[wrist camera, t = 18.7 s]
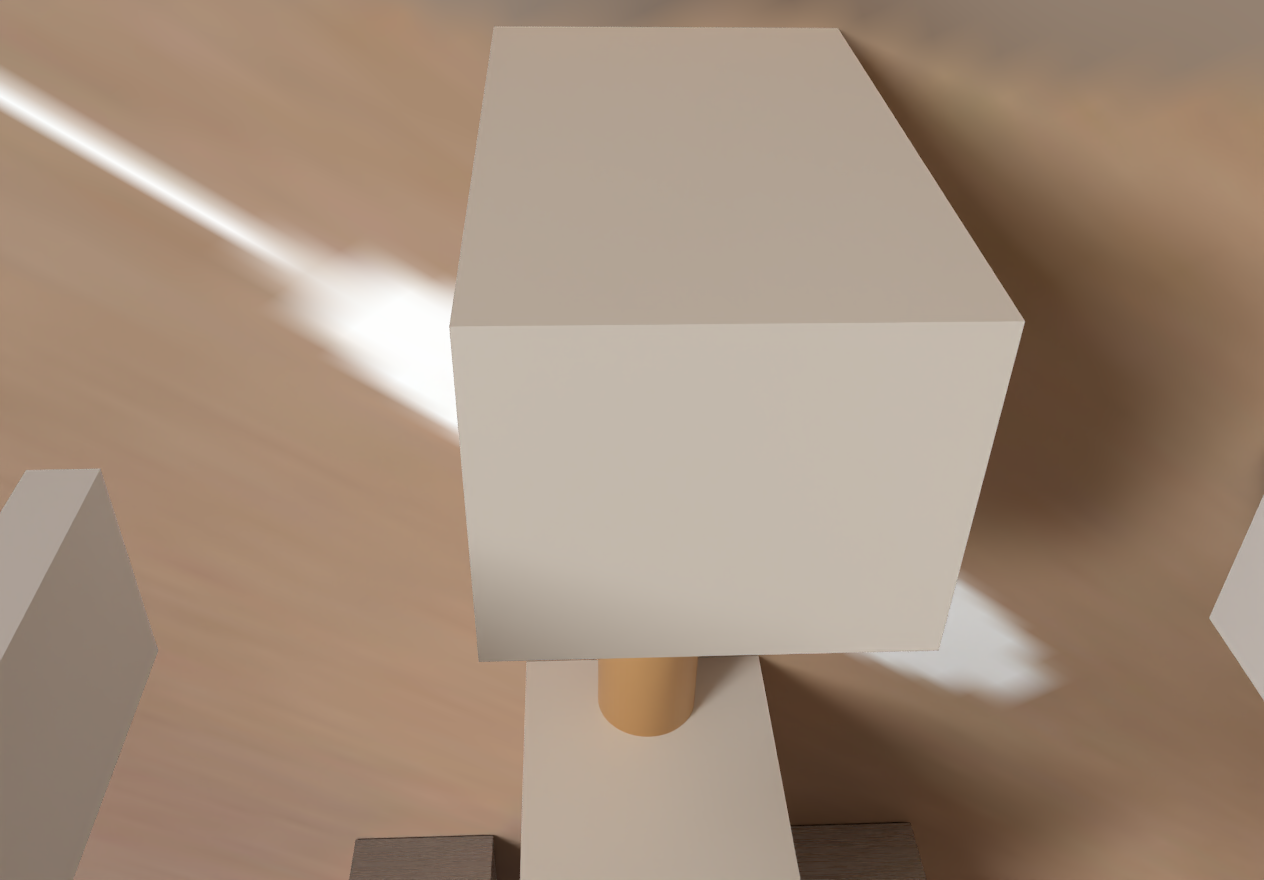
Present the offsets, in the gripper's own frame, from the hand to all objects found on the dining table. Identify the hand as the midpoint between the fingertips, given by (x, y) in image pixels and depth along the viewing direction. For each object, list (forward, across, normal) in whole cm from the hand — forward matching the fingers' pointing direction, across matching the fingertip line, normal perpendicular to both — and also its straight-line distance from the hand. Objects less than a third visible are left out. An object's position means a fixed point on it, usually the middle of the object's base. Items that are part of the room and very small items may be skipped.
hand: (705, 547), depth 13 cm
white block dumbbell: (+11, 0, -8) cm, 13 cm away
